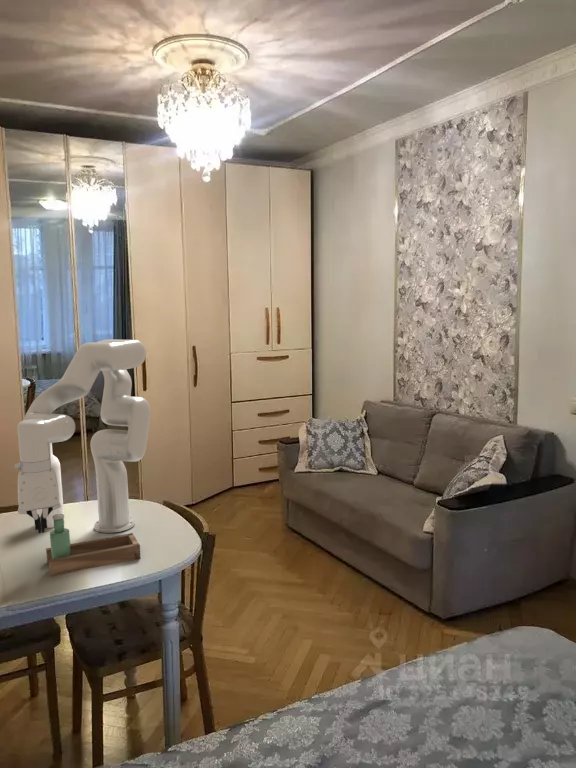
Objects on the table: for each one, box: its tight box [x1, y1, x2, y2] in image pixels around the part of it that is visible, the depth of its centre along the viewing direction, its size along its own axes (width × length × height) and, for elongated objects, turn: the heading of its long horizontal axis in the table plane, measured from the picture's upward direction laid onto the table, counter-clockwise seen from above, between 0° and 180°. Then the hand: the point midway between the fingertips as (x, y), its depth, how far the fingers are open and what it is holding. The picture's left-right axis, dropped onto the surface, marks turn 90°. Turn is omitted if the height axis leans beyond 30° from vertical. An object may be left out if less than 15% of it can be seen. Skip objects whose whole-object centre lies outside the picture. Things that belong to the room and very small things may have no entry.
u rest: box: [45, 532, 141, 577], centre depth 178 cm, size 10×24×4 cm, turn 115°
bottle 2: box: [49, 513, 71, 559], centre depth 174 cm, size 5×5×15 cm
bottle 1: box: [37, 443, 65, 529], centre depth 205 cm, size 8×8×30 cm
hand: (41, 531), depth 171 cm, fingers closed
